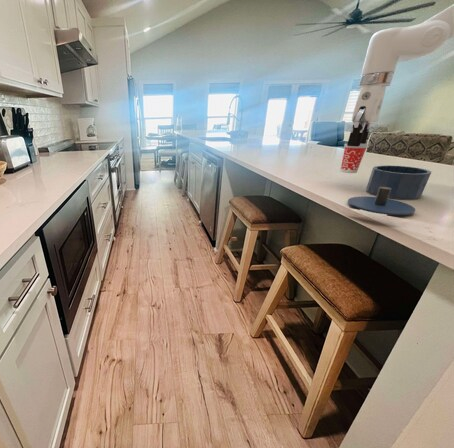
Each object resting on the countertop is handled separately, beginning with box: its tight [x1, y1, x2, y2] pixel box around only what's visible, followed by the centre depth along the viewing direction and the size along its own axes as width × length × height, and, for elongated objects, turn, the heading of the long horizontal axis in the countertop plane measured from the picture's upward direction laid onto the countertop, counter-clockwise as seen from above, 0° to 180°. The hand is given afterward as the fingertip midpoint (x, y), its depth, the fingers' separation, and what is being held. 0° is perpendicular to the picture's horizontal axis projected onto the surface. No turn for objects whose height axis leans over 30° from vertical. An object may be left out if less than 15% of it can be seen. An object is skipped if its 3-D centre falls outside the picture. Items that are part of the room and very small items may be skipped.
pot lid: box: [347, 187, 416, 216], centre depth 64 cm, size 14×14×6 cm
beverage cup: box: [339, 143, 369, 174], centre depth 79 cm, size 6×6×14 cm
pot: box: [365, 165, 432, 201], centre depth 74 cm, size 13×13×8 cm
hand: (356, 144), depth 78 cm, fingers closed on beverage cup, 6 cm apart
